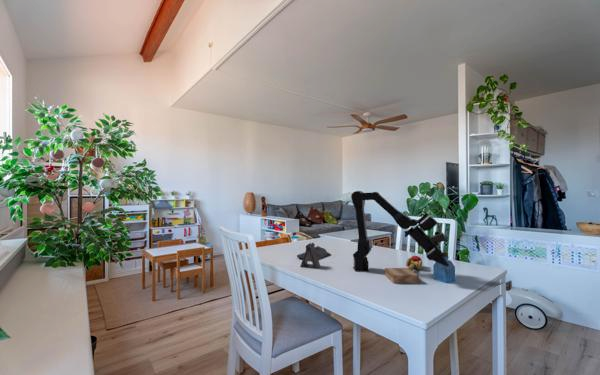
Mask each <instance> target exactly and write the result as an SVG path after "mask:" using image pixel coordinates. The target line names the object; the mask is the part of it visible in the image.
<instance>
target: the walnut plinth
mask: <svg viewBox="0 0 600 375" xmlns="http://www.w3.org/2000/svg"><path fill="white" fill-rule="evenodd" d="M384 272H385V274H384V276H386V278H387V279H388V280H390V282H391V283H392V284H419V283H420V279H419V278H420V276H419V275H420V274H417V273H416V272H415V271H414V270H413V271H412V270H411V269H409V268H408V267H386V268H385V269H384Z"/></svg>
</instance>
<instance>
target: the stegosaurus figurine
mask: <svg viewBox="0 0 600 375" xmlns="http://www.w3.org/2000/svg"><path fill="white" fill-rule="evenodd" d="M315 251H316V254H317V257H318V260H319V261H321V260H323V259H327V258H329V257H331V256H332V254H331V253H330V252H328V251H327V250H326V248H324V247H321V246H318V245H317V246H315ZM304 255H305V252H302V253H299V254H297V255H296V258H297V259H299V260H300V259H302V260H303V257H304ZM308 262H312V259H311V255H309V259H308Z"/></svg>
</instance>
